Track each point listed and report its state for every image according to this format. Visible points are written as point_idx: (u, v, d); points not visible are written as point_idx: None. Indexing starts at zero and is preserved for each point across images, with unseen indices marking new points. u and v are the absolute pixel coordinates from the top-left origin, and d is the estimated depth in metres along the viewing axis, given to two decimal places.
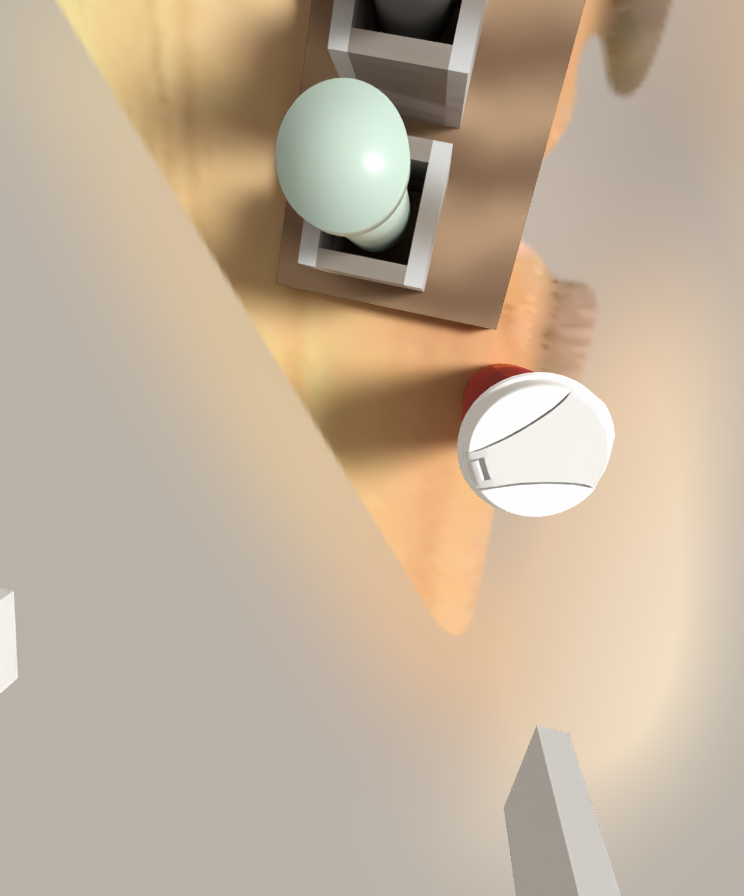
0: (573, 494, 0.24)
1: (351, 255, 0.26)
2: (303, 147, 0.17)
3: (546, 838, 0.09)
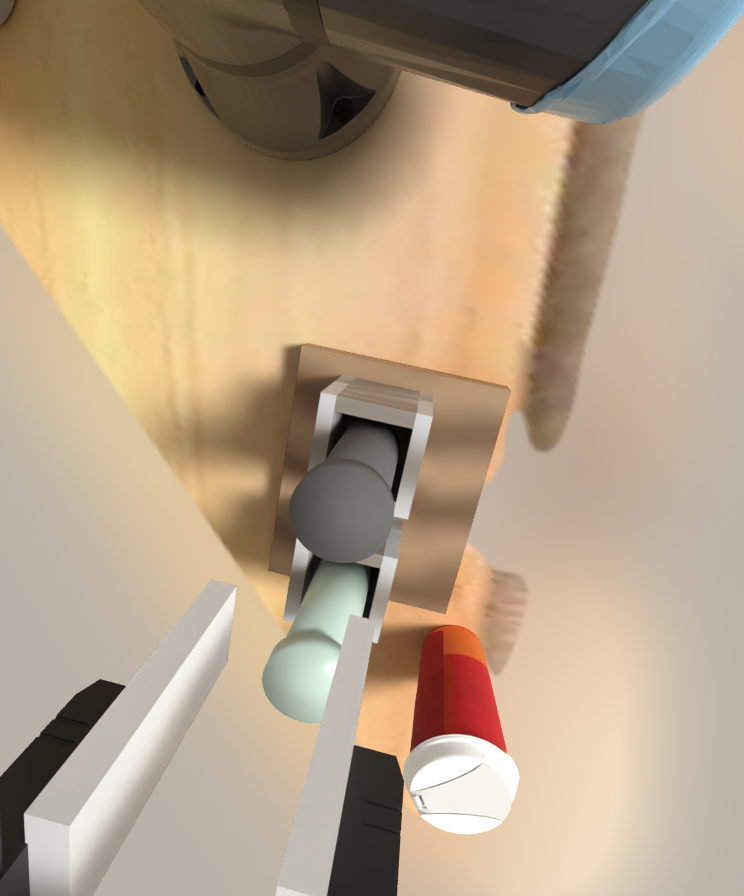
0: (488, 823, 0.32)
1: None
2: (281, 678, 0.25)
3: None
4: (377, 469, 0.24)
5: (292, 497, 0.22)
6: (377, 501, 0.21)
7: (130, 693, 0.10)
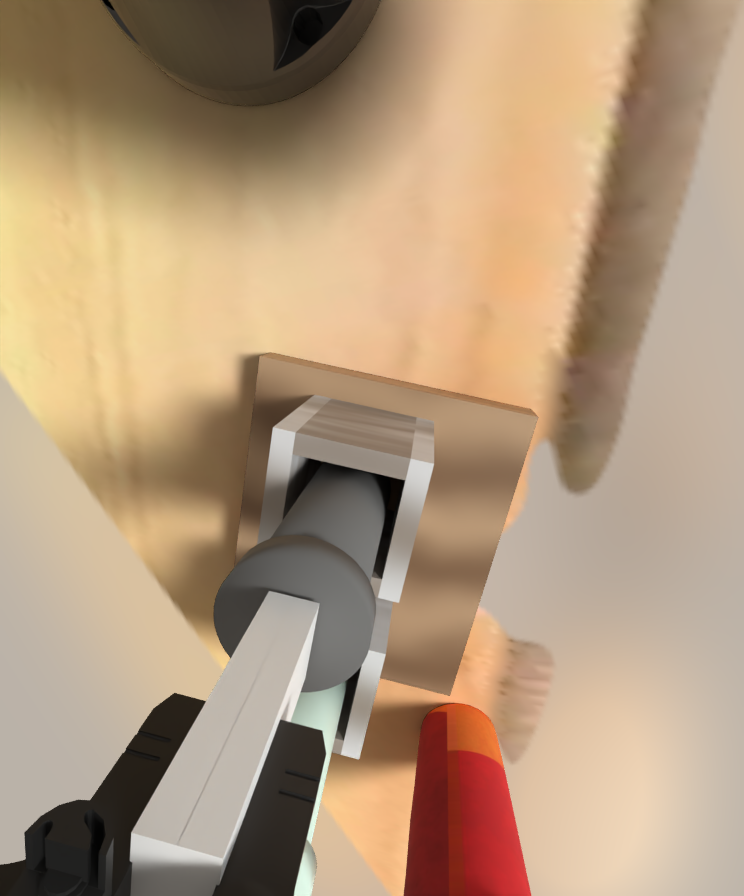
0: None
1: None
2: None
3: None
4: (352, 544, 0.16)
5: (218, 597, 0.14)
6: (347, 607, 0.14)
7: (211, 708, 0.10)
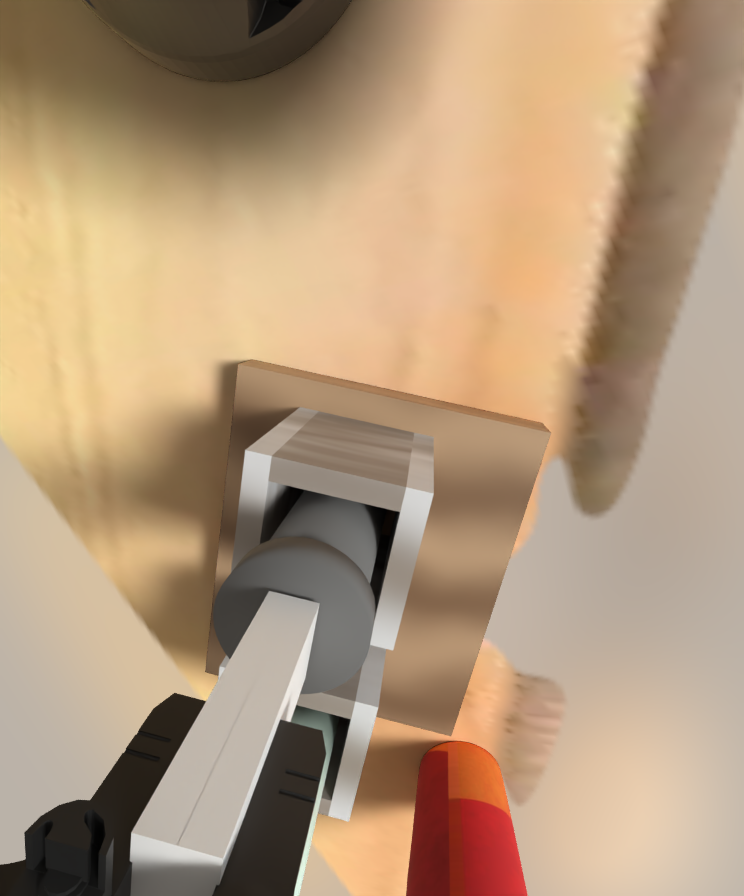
0: None
1: None
2: None
3: None
4: (351, 545, 0.16)
5: (217, 599, 0.14)
6: (347, 609, 0.14)
7: (211, 708, 0.10)
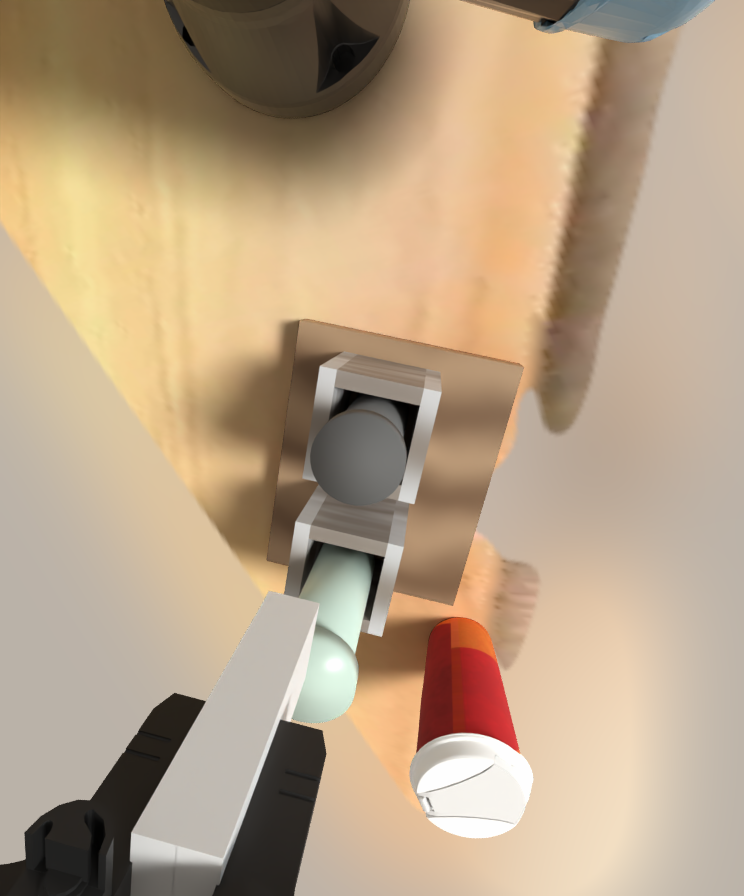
0: (500, 827, 0.30)
1: None
2: None
3: None
4: (390, 421, 0.26)
5: (313, 444, 0.24)
6: (391, 446, 0.23)
7: (211, 708, 0.10)
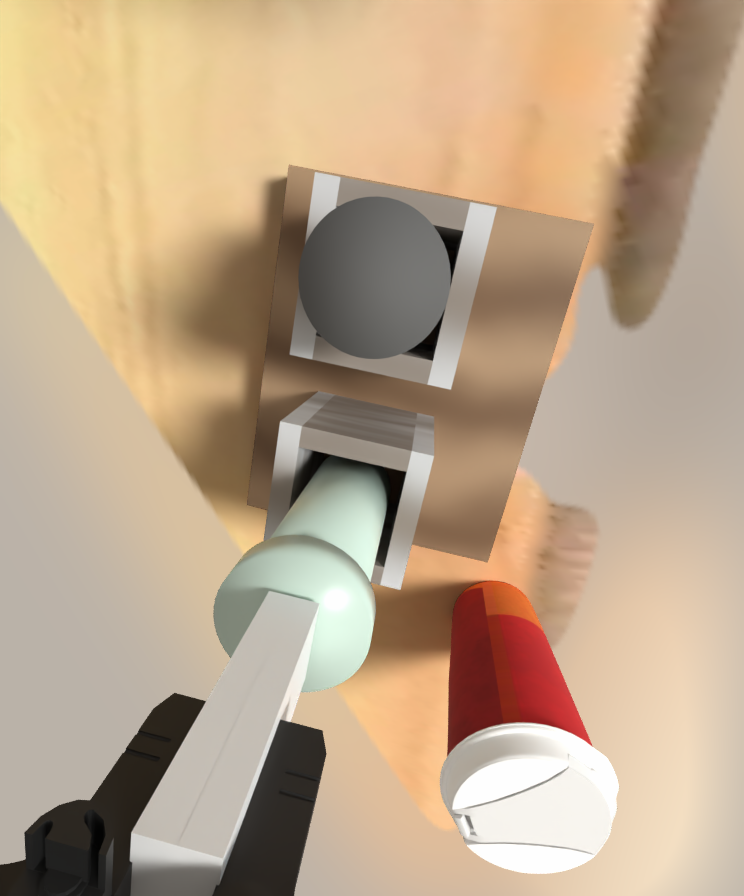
0: (571, 858, 0.21)
1: None
2: (246, 612, 0.14)
3: None
4: None
5: (303, 254, 0.15)
6: (429, 252, 0.14)
7: (211, 708, 0.10)
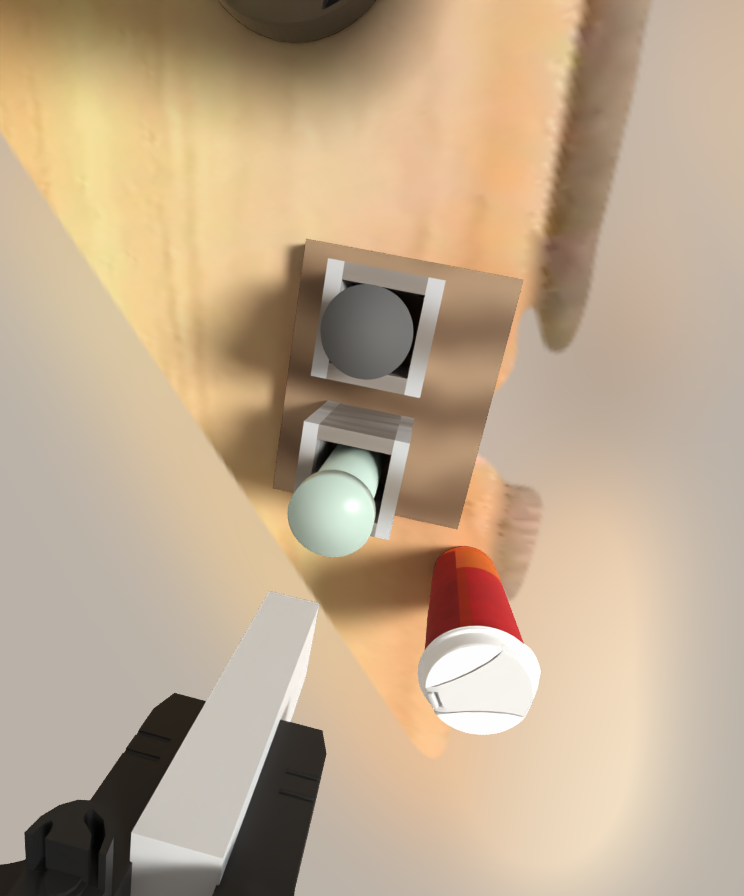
0: (508, 720, 0.30)
1: None
2: (305, 510, 0.26)
3: None
4: None
5: (323, 317, 0.25)
6: (399, 316, 0.24)
7: (212, 708, 0.10)
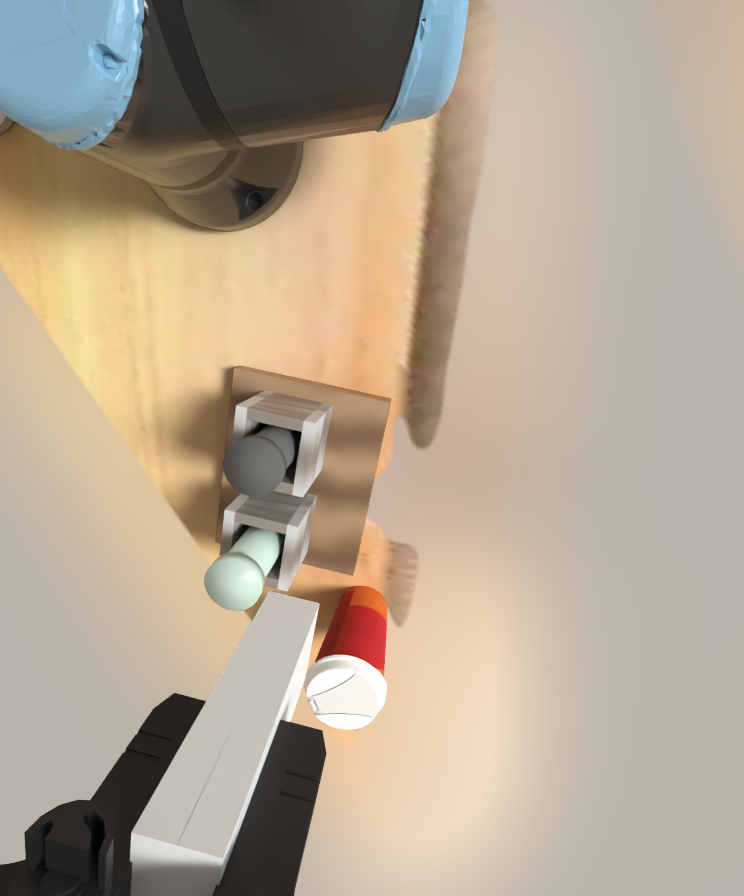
0: (363, 720, 0.43)
1: None
2: (216, 580, 0.39)
3: None
4: (279, 442, 0.39)
5: (224, 457, 0.37)
6: (272, 459, 0.37)
7: (211, 708, 0.10)
